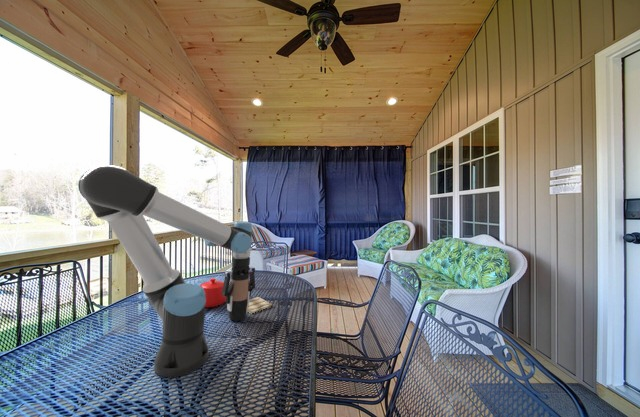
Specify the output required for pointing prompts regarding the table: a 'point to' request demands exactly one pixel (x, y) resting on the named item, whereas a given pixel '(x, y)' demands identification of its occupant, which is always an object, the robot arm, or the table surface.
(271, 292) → the table surface
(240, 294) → the travel mug
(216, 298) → the teapot
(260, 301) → the trivet
